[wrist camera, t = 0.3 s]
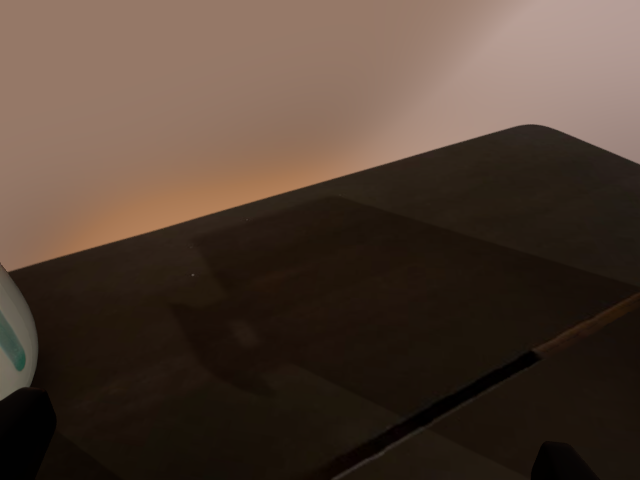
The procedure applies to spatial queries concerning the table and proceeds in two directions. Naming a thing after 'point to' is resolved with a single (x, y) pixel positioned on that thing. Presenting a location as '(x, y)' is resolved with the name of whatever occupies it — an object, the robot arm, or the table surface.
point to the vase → (15, 338)
